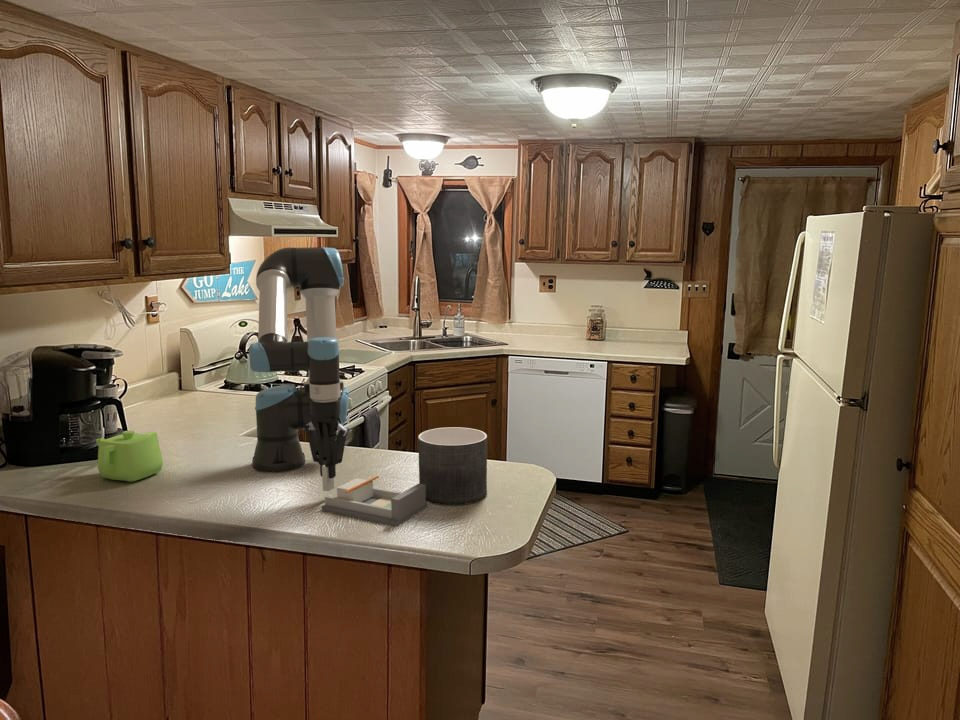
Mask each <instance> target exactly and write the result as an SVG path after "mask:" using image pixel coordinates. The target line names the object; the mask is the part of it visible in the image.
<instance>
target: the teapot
mask: <svg viewBox="0 0 960 720" xmlns="http://www.w3.org/2000/svg"><path fill="white" fill-rule="evenodd" d="M95 442H96V444H97V447H98V449H97V451H98V452H97V470H98V473H99V474H100V476H101V477H102V478H104V479H109V480H112V481H113V480H114V481H123V482H127V483H134V482H136V481H138V480H142V479H144V478H145V479H146V478H147V477H149V476H152V475H155V474H158V473H159V472H161V470H162V468H163V465H164V463H163V462H164V461H163V460H164V459H163V455H162V450H161V448H160V443H159V437H158V433H157V431H155V432H154V431H150V432H146V433H136V432H135V431H134V430H124V431H123V432H121V434H118V435H114V436H111V437H109V438H105V437H101V438H96V439H95Z"/></svg>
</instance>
